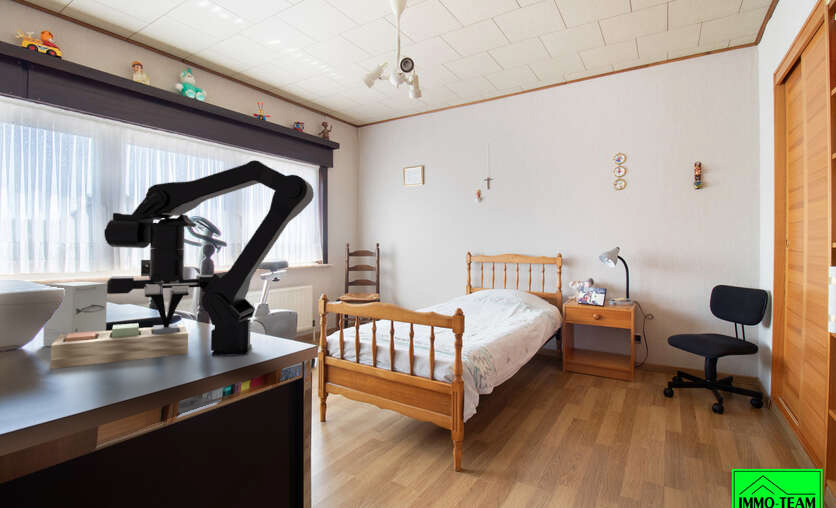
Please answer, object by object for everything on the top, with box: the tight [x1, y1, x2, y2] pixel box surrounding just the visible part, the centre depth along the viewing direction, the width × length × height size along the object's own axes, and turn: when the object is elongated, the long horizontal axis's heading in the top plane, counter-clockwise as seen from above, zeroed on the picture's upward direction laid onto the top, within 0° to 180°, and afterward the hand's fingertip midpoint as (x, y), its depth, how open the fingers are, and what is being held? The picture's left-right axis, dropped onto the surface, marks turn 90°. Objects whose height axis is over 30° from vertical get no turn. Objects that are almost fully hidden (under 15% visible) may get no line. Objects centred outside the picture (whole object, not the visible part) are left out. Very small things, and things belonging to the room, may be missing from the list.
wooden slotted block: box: [50, 324, 189, 370], centre depth 77 cm, size 20×9×4 cm, turn 125°
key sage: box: [111, 322, 140, 338], centre depth 76 cm, size 4×4×2 cm
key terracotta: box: [66, 331, 97, 341], centre depth 73 cm, size 4×4×2 cm
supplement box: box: [42, 281, 108, 347], centre depth 83 cm, size 7×7×13 cm
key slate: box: [152, 323, 178, 334], centre depth 80 cm, size 4×4×2 cm
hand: (166, 326), depth 80 cm, fingers closed, pressing on key slate
